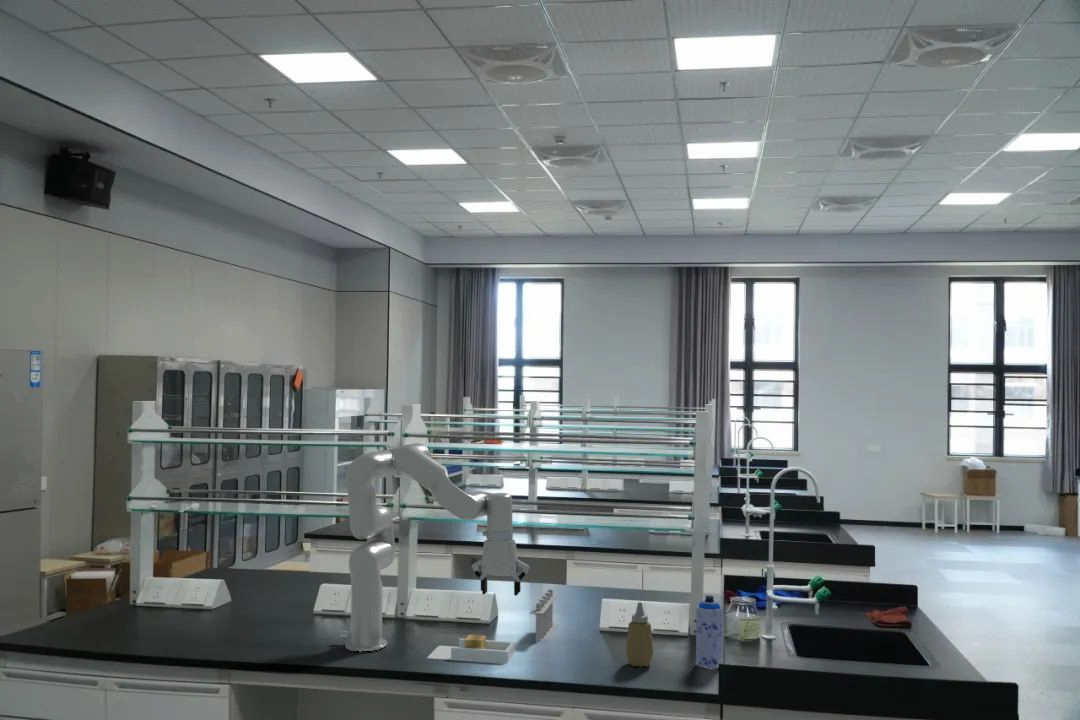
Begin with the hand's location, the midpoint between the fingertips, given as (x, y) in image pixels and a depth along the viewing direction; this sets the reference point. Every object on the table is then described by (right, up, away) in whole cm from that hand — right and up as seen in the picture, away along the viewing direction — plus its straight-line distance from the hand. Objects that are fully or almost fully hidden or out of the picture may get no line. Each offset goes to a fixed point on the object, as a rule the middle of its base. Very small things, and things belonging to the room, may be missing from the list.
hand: (500, 593), depth 258 cm
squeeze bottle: (+41, -20, -2) cm, 46 cm away
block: (-8, -18, +1) cm, 20 cm away
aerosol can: (+61, -21, -2) cm, 64 cm away
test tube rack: (+13, -21, +24) cm, 34 cm away
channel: (-9, -20, +1) cm, 21 cm away
